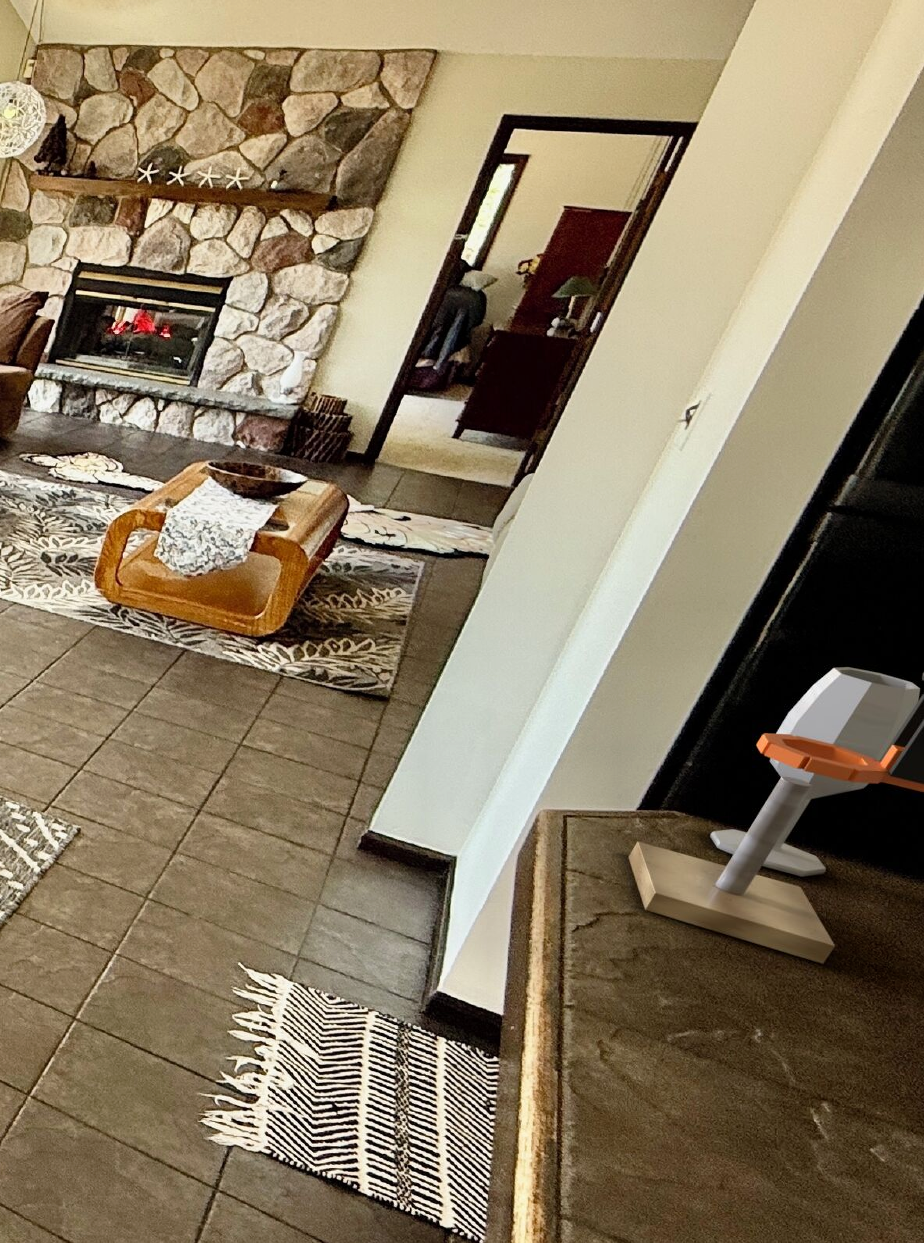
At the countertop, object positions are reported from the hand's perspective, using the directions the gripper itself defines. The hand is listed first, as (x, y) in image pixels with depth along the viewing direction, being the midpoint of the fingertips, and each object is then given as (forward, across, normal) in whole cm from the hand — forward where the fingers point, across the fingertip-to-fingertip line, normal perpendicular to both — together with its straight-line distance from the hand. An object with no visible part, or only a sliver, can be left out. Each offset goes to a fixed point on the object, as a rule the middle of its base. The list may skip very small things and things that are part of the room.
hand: (907, 773), depth 100 cm
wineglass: (+19, -27, +2) cm, 33 cm away
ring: (+1, 0, -4) cm, 4 cm away
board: (+19, -7, -4) cm, 20 cm away
